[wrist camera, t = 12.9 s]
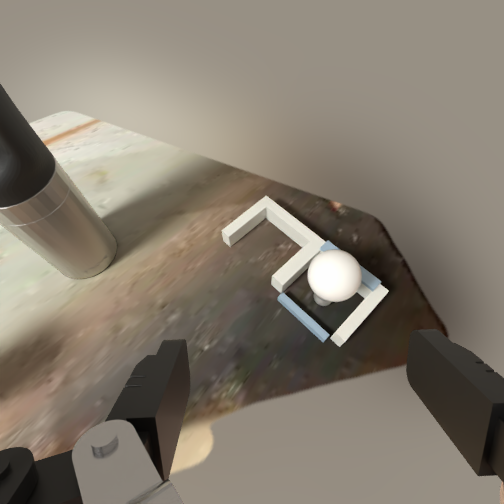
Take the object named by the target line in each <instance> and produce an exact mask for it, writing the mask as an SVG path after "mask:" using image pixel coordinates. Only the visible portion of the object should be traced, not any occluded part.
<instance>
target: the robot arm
mask: <svg viewBox="0 0 504 504" xmlns="http://www.w3.org/2000/svg"><path fill="white" fill-rule="evenodd" d="M0 225H2V226H3V227H4V228H6V229H7V230H8V231H9V232H11V233H12V234H13V235H14V236H16V237H17V238H18V239H19V240H21V241H22V242H23V243H25V244H26V245H27V246H28V247H30V248H31V249H32V250H33V251H35V252H36V253H37V254H38V255H40V256H41V257H42V258H44V259H45V260H46V261H47V262H48V263H50V264H51V265H52V266H54V267H55V268H56V269H57V270H59V271H60V272H61V273H63V274H64V275H65V276H67V277H70V278H74V279H85V278H89V277H92V276H94V275H97V274H98V273H100V272H102V271H103V270H104V269H105V268H107V267H108V266H109V264H110V263H111V262H112V260H113V259H114V257H115V254H116V251H117V244H116V240H115V238H114V236H113V235H112V233H111V232H110V231H109V229H108V228H107V227H106V225H105V224H104V223H103V221H102V220H101V219H100V217H99V216H98V215H97V213H96V212H95V211H94V209H93V208H92V207H91V205H90V204H89V203H88V201H87V200H86V199H85V197H84V196H83V195H82V193H81V192H80V191H79V189H78V188H77V187H76V185H75V184H74V183H73V181H72V180H71V179H70V177H69V176H68V175H67V173H66V172H65V171H64V170H63V168H62V167H61V166H60V164H59V163H58V162H57V160H56V159H55V158H54V156H53V155H52V154H51V152H50V151H49V150H48V148H47V147H46V146H45V145H44V143H43V142H42V141H41V139H40V138H39V137H38V135H37V134H36V133H35V131H34V130H33V129H32V127H31V126H30V125H29V123H28V122H27V121H26V120H25V118H24V117H23V116H22V114H21V113H20V111H19V110H18V109H17V107H16V106H15V104H14V103H13V102H12V100H11V99H10V97H9V96H8V94H7V93H6V91H5V90H4V88H3V87H2V85H1V84H0ZM406 371H407V377H408V381H409V383H410V385H411V387H412V388H413V390H414V391H415V392H416V394H417V395H418V396H419V398H420V399H421V400H422V402H423V403H424V404H425V406H426V407H427V409H428V410H429V411H430V413H431V414H432V415H433V417H434V418H435V419H436V421H437V422H438V423H439V425H440V426H441V427H442V428H443V430H444V431H445V433H446V434H447V435H448V436H449V438H450V439H451V441H452V442H453V443H454V445H455V446H456V447H457V449H458V450H459V451H460V453H461V454H462V455H463V457H464V458H465V459H466V461H467V462H468V463H469V465H470V466H471V467H472V469H473V470H474V471H475V473H476V474H477V475H478V476H490V475H498V477H499V478H500V479H501V480H502V483H501V487H500V504H504V378H503V377H502V376H500V375H499V374H498V373H497V372H494V370H493V369H492V368H490V367H489V366H488V365H487V364H484V362H483V361H482V360H481V359H480V358H479V357H477V356H476V355H475V354H474V353H472V352H471V351H469V350H467V349H466V348H464V347H462V346H460V345H458V344H456V343H452V342H451V341H450V340H449V339H448V338H447V337H445V336H444V335H443V334H442V333H441V332H440V331H438V330H436V329H429V330H413V331H412V332H411V334H410V341H409V349H408V358H407V368H406ZM189 393H190V371H189V362H188V353H187V344H186V340H185V339H179V340H163V342H162V344H161V346H160V348H159V350H158V352H157V354H156V355H147V356H146V357H145V358H144V359H143V360H142V361H140V362H139V363H138V364H137V365H136V367H135V368H134V370H133V372H132V374H131V376H130V378H129V379H128V381H127V383H126V385H125V388H123V390H122V392H121V394H120V396H119V397H118V399H117V401H116V403H115V405H114V406H113V408H112V410H111V412H110V414H109V415H108V417H107V419H106V421H105V422H103V423H101V424H98V425H96V426H95V427H93V428H91V429H90V430H88V431H87V432H86V433H85V434H84V435H83V436H82V437H81V438H80V439H79V440H78V441H77V443H76V444H75V446H74V448H73V450H70V451H67V452H65V453H61V454H58V455H55V456H51V457H48V458H45V459H42V460H38V461H34V457H33V454H32V452H31V451H30V450H29V449H27V448H23V447H14V448H9V449H5V450H2V451H0V504H184V503H183V501H182V500H181V498H180V496H179V494H178V492H177V491H176V489H175V487H174V485H173V484H172V483H171V481H170V480H168V478H169V474H170V470H171V466H172V462H173V458H174V454H175V450H176V446H177V442H178V438H179V434H180V430H181V426H182V422H183V418H184V414H185V410H186V406H187V402H188V398H189Z"/></svg>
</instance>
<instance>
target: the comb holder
mask: <svg viewBox="0 0 504 504" xmlns="http://www.w3.org/2000/svg"><path fill="white" fill-rule="evenodd" d="M265 218H267V219H268V220H269V221H270V222H271V223H273V224H274V225H275V226H276V227H278V228H279V229H280V230H281V231H283V232H284V233H285V234H286V235H287V236H289V237H290V238H291V239H292V240H294V241H295V242H296V243H297V244H299V245H300V246H301V247H302V249H301V250H300V251H299V252H298V253H297V254H295V255H294V256H293V257H292V258H291V259H290V260H289V261H288V262H287V263H286V264H285V265H283V266H282V267H281V268H280V269H279V270H278V271H277V272H276V273H275V274H274V275H273V276H272V282H271V285H272V286H273V287H275V288H276V289H277V290H278V291H279V292H280V293H282V292H283V291H284V290H285V289H287V288H288V287H289V286H290V285H291V284H292V283H293V282H294V281H295V280H296V279H297V278H298V277H299V276H300V275H301V274H302V273H303V272H304V271H305V270H306V269H307V268H308V267H309V266H310V263H311V262H312V260H313V259H314V258H315V257H316V256H317V255H318V254H320V253H321V252H324V251H326V250H332V249H337V250H340V249H338V248H337V247H336V246H335V245H333V244H332V243H331V242H329V241H327V242H325V241H324V240H323V239H321V238H320V237H319V236H318V235H316V234H315V233H314V232H312V231H311V230H310V229H309V228H307V227H306V226H305V225H303V224H302V223H301V222H300V221H298V220H297V219H296V218H294V217H293V216H292V215H291V214H289V213H288V212H287V211H285V210H284V209H283V208H282V207H280V206H279V205H278V204H276V203H275V202H274V201H273V200H271V199H270V198H269V197H267V196H265V197H264V198H263V199H261V200H260V201H259V202H257V203H256V204H255V205H254V206H252V207H251V208H250V209H248V210H247V211H246V212H245V213H243V214H242V215H241V216H240V217H238V218H237V219H236V220H234V221H233V222H232V223H231V224H229V225H228V226H227V227H226V228H224V229H223V230H222V235H223V241H224V242H225V243H226V244H227V245H229V246H230V247H231V246H232V245H233V244H235V243H236V242H237V241H238V240H239V239H241V238H242V237H243V236H244V235H246V234H247V233H248V232H249V231H250V230H252V229H253V228H254V227H255V226H257V225H258V224H259V223H260V222H261V221H263V220H264V219H265ZM360 268H361V272H362V281H361V285H360V287H359V289H358V291H357V292H358V293H359V294H360V295H361V296H362V297H364V298H365V299H364V301H363V302H362V303H361V304H360V305H359V306H358V307H357V308H356V310H355V311H354V312H353V313H352V314H351V315H350V316H349V317H348V318H347V320H346V321H345V322H344V323H343V324H342V325H341V326H340V327H339V328H338V330H337V331H336V332H335V333H334V334H333V335H332V337H331V338H330V339H331V340H333V341H334V342H335V343H336V344H337V345H338V346H339V347H340V346H341V345H342V344H343V343H344V342H345V341H346V340H347V339H348V338H349V337H350V335H351V334H352V333H353V332H354V331H355V330H356V329H357V327H358V326H359V325H360V324H361V323H362V322H363V321H364V319H365V318H366V317H367V316H368V315H369V314H370V312H371V311H372V310H373V309H374V308H375V307H376V306H377V304H378V303H379V302H380V301H381V300H382V299H383V298H384V296H385V295H386V294H387V293H388V292H389V290H387V289H386V288H385V287H383V286H382V285H381V284H380V283H381V281H380V280H379V279H377V278H376V277H375V276H374V275H372V274H371V273H370V272H368V271H367V270H366V269H364V268H363V267H362V266H361V265H360ZM278 301H279V302H280V303H281V304H282V305H283V306H284V307H286V308H287V309H288V310H289V311H290V312H291V313H292V314H293V315H294V316H295V317H296V318H297V319H298V320H299V321H301V322H302V323H303V324H304V325H305V326H306V327H307V328H308V329H309V330H310V331H311V332H312V333H313V334H315V335H316V336H317V337H318V338H319V339H320V340H321V341H322V342H324V341H325V340H326V339H327V338H328V336H329V334H328V333H327V332H326V331H325V330H324V329H323V328H322V327H320V326H319V325H318V324H317V323H316V322H315V321H314V320H313V319H312V318H311V317H309V316H308V315H307V314H306V313H305V312H304V311H303V310H302V309H301V308H300V307H298V306H297V305H296V304H295V303H294V302H293V301H292V300H291V299H290V298H289V297H287V296H286V295H285V294H284V293H282V294H281V295H279V296H278Z"/></svg>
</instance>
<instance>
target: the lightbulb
mask: <svg viewBox="0 0 504 504" xmlns="http://www.w3.org/2000/svg"><path fill="white" fill-rule="evenodd" d="M361 281H362V272H361V268H360V265H359V263H358V262H357V260H356V259H355V258H354V257H353V256H352V255H350V254H349V253H347V252H345V251H342V250H337V249H332V250H326V251H324V252H321V253H320V254H318V255H317V256H316V257H315V258H314V259H313V260H312V262H311V263H310V266H309V269H308V282H309V285H310V287H311V289H312V290H313V292H314V300H315V302H316V303H317V304H319V305H321V306H327V305H329V304H330V303H331V302H341V301H344V300H347V299H349V298H350V297H352V296H353V295H354V294H355V293H356V292H357V291H358V289H359V287H360V285H361Z"/></svg>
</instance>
